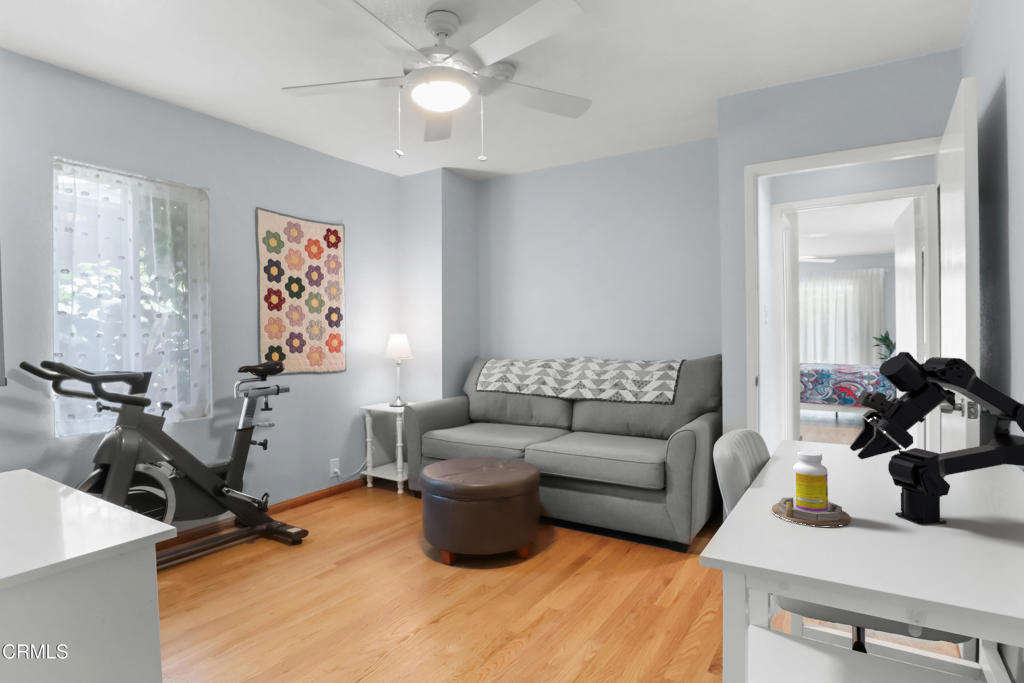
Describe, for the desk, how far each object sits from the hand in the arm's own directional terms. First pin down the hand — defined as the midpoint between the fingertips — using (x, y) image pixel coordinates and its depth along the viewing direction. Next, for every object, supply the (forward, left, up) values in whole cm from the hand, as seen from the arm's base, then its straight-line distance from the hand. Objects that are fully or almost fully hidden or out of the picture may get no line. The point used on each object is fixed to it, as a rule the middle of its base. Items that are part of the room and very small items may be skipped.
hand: (855, 453), depth 122 cm
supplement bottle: (0, +11, -12) cm, 17 cm away
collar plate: (0, +11, -13) cm, 17 cm away
